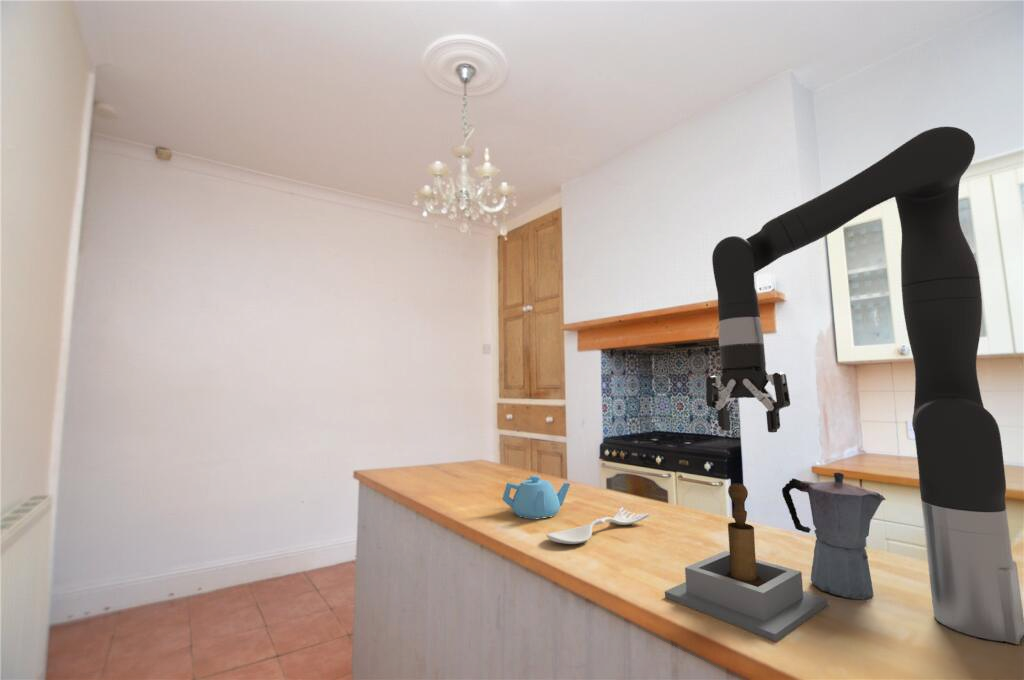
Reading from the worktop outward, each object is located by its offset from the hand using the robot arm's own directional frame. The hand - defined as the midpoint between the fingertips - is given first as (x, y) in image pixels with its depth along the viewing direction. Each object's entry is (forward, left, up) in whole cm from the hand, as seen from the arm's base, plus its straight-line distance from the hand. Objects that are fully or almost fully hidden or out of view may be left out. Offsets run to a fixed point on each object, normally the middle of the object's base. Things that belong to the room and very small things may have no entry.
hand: (748, 431), depth 86 cm
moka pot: (-9, -10, -28) cm, 31 cm away
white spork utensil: (+40, -2, -28) cm, 49 cm away
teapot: (+64, -1, -28) cm, 70 cm away
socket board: (-1, +8, -27) cm, 28 cm away
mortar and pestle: (-1, +7, -27) cm, 28 cm away
